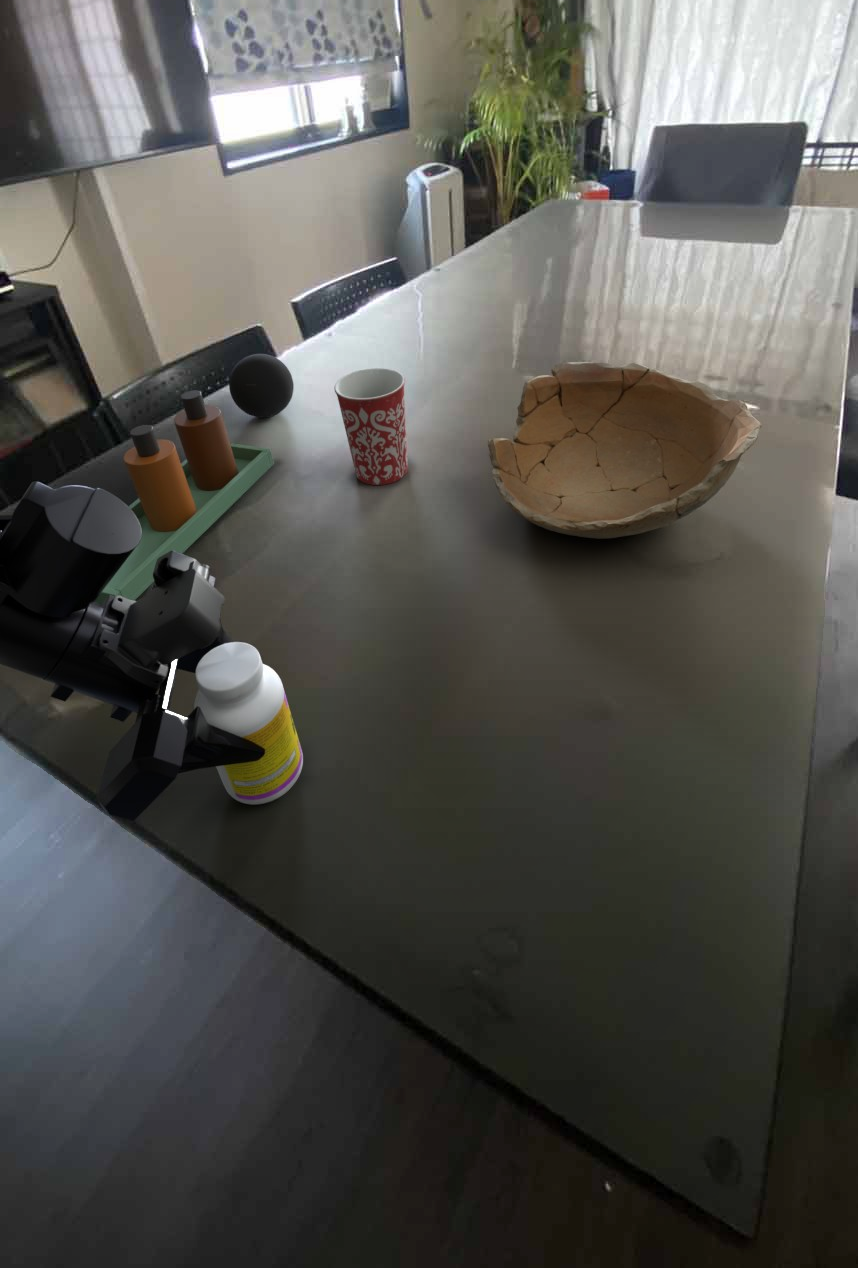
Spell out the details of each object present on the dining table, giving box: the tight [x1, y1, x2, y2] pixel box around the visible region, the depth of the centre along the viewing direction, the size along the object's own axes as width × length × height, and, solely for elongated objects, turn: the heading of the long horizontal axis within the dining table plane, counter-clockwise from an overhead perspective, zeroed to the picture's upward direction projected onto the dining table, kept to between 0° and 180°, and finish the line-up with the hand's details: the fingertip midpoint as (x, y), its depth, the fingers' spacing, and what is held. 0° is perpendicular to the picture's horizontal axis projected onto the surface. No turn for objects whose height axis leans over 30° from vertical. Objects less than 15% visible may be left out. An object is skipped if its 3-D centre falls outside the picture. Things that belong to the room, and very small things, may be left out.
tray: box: [94, 442, 275, 605], centre depth 88 cm, size 32×11×3 cm, turn 159°
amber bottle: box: [123, 424, 197, 532], centre depth 84 cm, size 6×6×13 cm
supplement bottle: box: [193, 641, 304, 805], centre depth 53 cm, size 7×7×13 cm
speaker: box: [228, 353, 295, 418], centre depth 109 cm, size 10×10×10 cm
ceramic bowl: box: [487, 361, 763, 539], centre depth 82 cm, size 30×27×15 cm
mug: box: [333, 367, 409, 486], centre depth 92 cm, size 13×9×14 cm
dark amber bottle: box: [173, 389, 238, 491], centre depth 91 cm, size 6×6×13 cm
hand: (265, 717), depth 53 cm, fingers closed on supplement bottle, 6 cm apart
